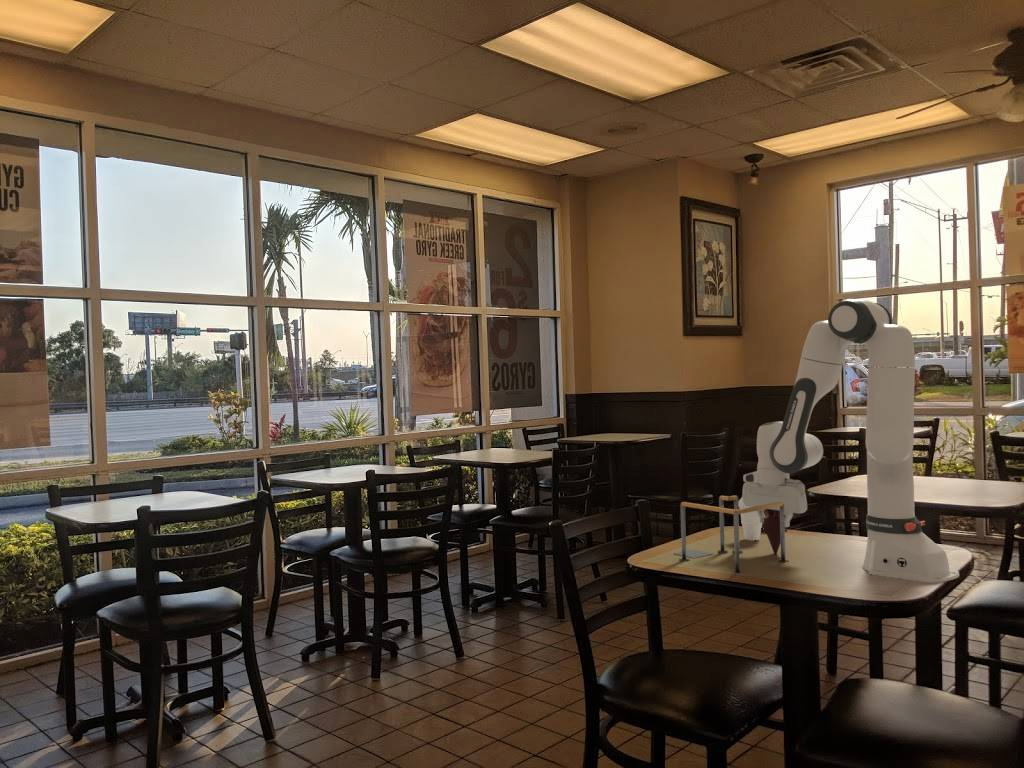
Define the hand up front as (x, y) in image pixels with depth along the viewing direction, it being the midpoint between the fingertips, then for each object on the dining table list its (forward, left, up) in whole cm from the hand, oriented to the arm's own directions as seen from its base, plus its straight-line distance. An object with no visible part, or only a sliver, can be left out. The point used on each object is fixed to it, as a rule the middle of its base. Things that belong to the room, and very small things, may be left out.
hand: (774, 524), depth 231 cm
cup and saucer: (+26, -31, -9) cm, 41 cm away
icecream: (0, 0, -9) cm, 9 cm away
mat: (+15, +18, -9) cm, 25 cm away
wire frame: (+2, +16, -9) cm, 18 cm away
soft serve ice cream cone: (+18, -12, -9) cm, 23 cm away
